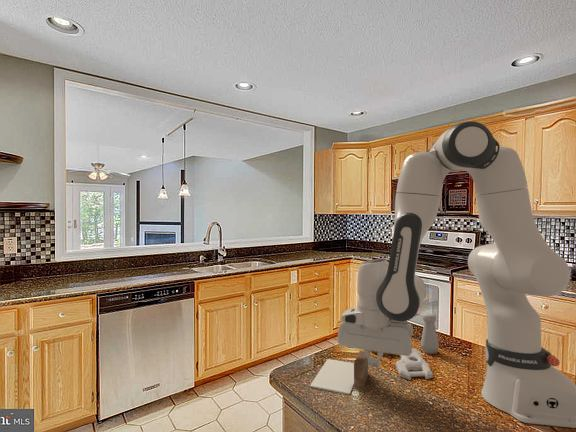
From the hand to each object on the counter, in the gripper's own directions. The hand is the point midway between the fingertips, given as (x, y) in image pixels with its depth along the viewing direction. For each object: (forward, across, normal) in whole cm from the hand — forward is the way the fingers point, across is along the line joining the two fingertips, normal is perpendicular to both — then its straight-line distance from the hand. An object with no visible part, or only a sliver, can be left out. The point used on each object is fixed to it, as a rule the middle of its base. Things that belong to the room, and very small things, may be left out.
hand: (373, 365), depth 91 cm
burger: (+5, 0, -24) cm, 25 cm away
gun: (+5, -9, -14) cm, 18 cm away
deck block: (+5, +4, 0) cm, 6 cm away
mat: (+5, +11, 0) cm, 12 cm away
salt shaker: (+5, -15, -28) cm, 32 cm away
